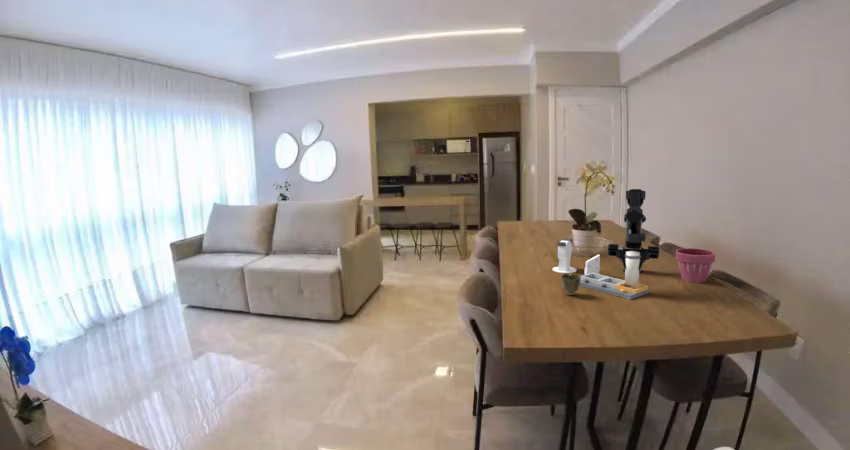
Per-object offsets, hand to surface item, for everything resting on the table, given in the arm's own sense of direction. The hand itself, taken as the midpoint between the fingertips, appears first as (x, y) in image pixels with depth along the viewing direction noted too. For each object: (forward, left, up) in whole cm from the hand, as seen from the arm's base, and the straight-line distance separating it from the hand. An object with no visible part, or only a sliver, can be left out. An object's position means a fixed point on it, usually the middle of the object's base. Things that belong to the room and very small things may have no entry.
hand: (632, 268), depth 165 cm
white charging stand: (-9, -40, -11) cm, 42 cm away
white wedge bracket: (-11, -26, -11) cm, 30 cm away
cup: (+19, -14, -11) cm, 26 cm away
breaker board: (0, -9, -10) cm, 14 cm away
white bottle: (-1, -1, -7) cm, 7 cm away
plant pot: (-37, +6, -11) cm, 39 cm away
